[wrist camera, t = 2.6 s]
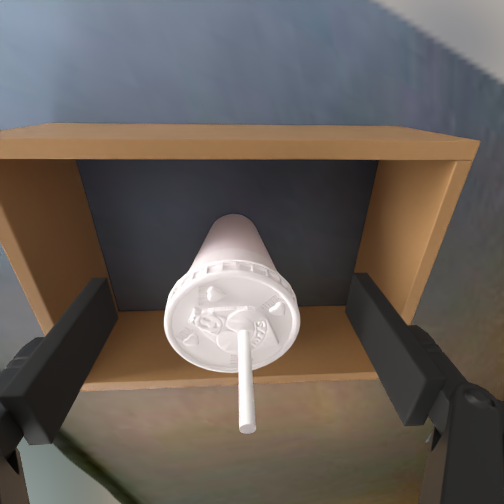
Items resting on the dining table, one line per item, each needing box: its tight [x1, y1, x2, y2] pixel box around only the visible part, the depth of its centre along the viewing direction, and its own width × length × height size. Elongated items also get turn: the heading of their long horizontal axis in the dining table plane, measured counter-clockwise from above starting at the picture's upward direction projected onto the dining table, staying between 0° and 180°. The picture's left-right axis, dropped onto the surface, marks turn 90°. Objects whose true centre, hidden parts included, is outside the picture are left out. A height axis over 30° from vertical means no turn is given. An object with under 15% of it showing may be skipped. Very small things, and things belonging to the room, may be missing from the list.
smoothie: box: [164, 214, 300, 433], centre depth 15 cm, size 6×6×14 cm
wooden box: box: [0, 123, 480, 391], centre depth 18 cm, size 16×22×7 cm
